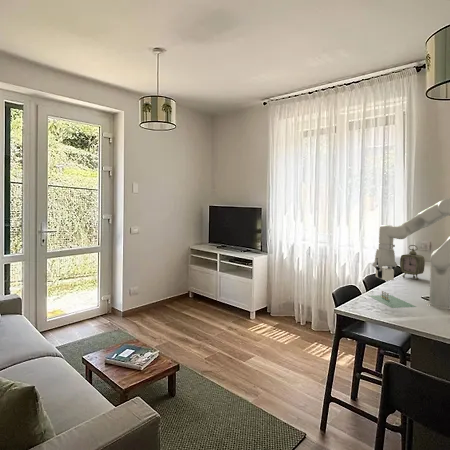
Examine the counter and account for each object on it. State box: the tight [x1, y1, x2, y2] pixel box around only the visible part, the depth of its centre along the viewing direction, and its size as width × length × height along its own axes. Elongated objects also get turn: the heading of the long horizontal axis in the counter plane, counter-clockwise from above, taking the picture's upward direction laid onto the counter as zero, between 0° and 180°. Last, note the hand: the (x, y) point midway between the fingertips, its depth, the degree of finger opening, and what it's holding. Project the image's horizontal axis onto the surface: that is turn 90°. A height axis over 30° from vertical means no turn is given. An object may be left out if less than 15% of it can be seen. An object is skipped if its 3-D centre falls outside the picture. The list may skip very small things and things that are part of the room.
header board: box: [369, 290, 417, 309], centre depth 195 cm, size 14×24×5 cm, turn 6°
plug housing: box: [375, 266, 395, 281], centre depth 200 cm, size 5×10×6 cm, turn 6°
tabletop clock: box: [399, 244, 426, 281], centre depth 257 cm, size 14×9×25 cm, turn 28°
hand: (384, 277), depth 201 cm, fingers closed on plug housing, 4 cm apart
